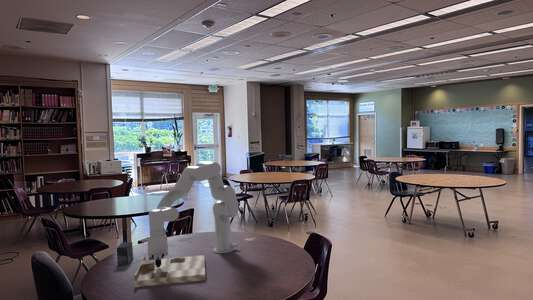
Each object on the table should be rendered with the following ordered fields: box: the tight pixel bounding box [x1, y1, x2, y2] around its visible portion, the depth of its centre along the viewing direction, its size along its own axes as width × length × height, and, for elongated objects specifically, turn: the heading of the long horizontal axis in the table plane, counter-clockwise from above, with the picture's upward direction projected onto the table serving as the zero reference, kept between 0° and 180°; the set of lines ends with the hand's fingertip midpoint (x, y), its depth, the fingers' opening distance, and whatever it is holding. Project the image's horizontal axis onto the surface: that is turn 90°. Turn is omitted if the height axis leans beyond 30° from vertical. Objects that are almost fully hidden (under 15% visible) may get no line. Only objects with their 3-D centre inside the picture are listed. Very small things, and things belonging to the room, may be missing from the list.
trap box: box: [133, 254, 206, 288], centre depth 195 cm, size 34×30×6 cm
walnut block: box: [141, 259, 155, 272], centre depth 192 cm, size 6×6×4 cm
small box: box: [116, 241, 134, 266], centre depth 214 cm, size 11×6×10 cm, turn 5°
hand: (158, 266), depth 193 cm, fingers closed
